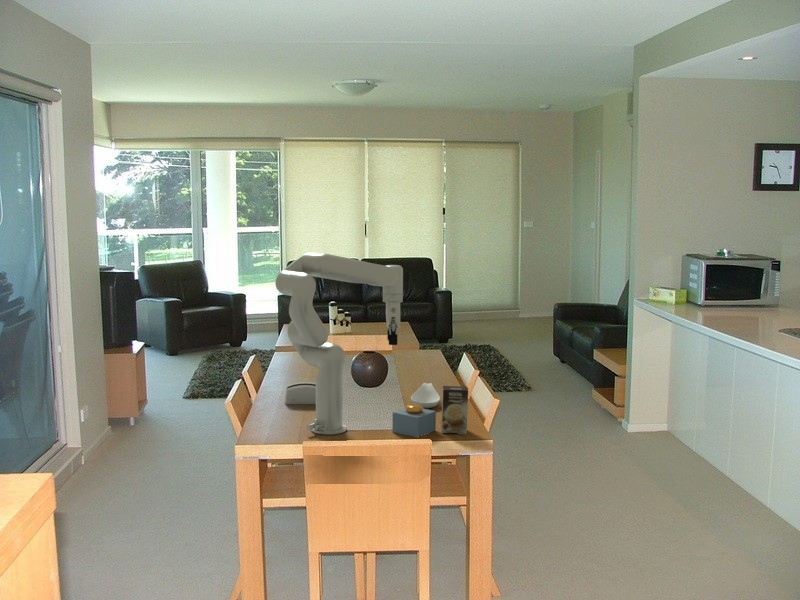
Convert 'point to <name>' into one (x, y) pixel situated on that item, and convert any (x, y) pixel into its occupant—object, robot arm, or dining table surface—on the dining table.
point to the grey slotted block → (301, 393)
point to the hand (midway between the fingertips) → (392, 342)
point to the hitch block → (414, 422)
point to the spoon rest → (426, 396)
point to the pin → (414, 409)
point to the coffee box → (454, 409)
